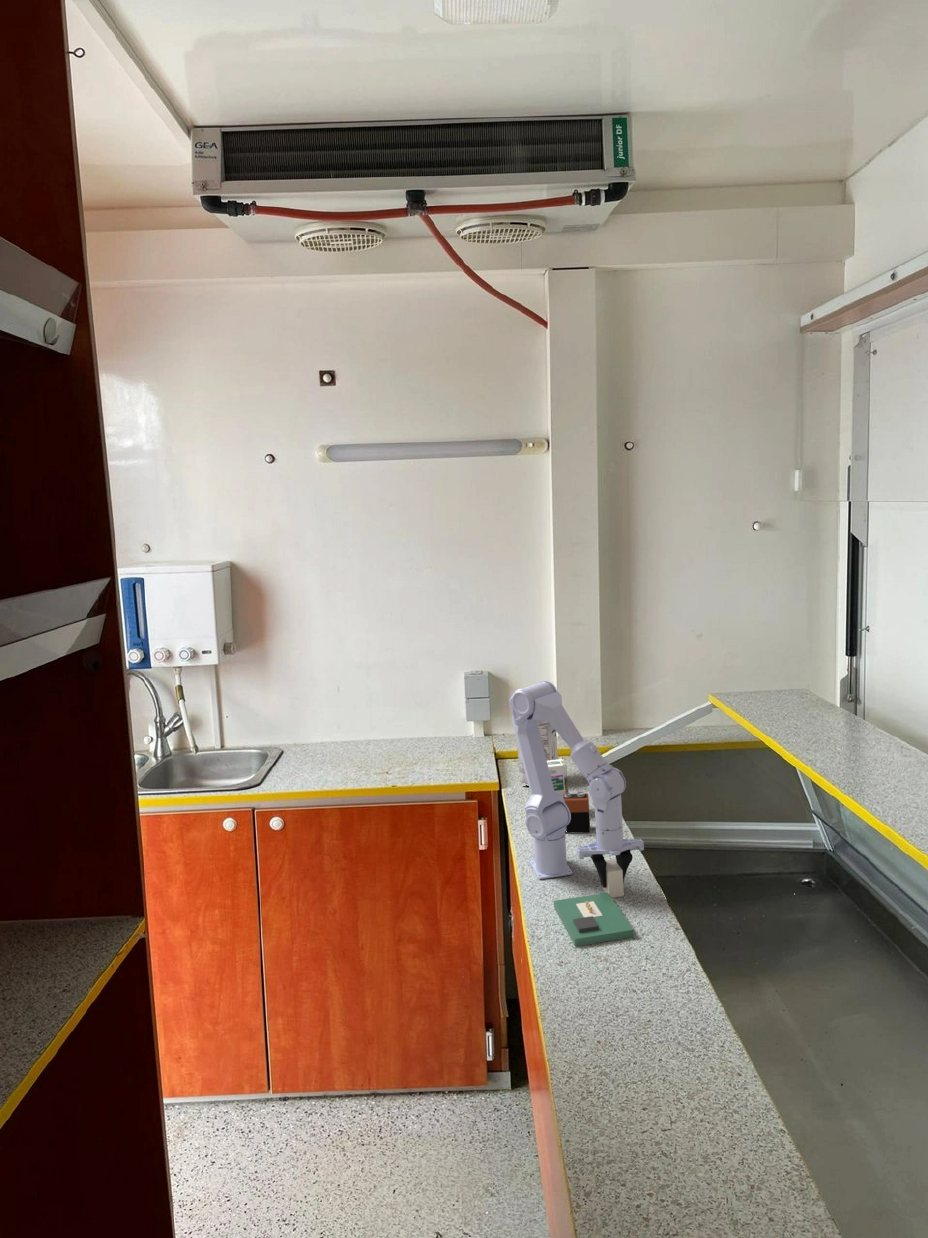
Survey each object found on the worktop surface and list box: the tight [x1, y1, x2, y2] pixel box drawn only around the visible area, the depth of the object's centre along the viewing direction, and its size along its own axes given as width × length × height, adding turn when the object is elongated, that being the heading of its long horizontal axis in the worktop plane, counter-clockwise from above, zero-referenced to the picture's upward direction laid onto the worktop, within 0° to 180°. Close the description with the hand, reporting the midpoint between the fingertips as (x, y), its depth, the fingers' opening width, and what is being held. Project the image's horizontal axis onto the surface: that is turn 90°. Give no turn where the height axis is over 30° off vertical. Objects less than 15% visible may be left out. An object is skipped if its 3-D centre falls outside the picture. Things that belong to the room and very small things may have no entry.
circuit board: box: [553, 892, 635, 947], centre depth 180 cm, size 16×12×3 cm
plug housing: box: [600, 858, 625, 899], centre depth 192 cm, size 7×3×6 cm, turn 9°
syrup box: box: [547, 758, 570, 795], centre depth 235 cm, size 6×6×14 cm
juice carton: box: [516, 721, 559, 784], centre depth 257 cm, size 9×10×27 cm
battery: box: [562, 790, 591, 833], centre depth 224 cm, size 4×7×10 cm, turn 83°
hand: (612, 884), depth 191 cm, fingers closed on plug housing, 3 cm apart
